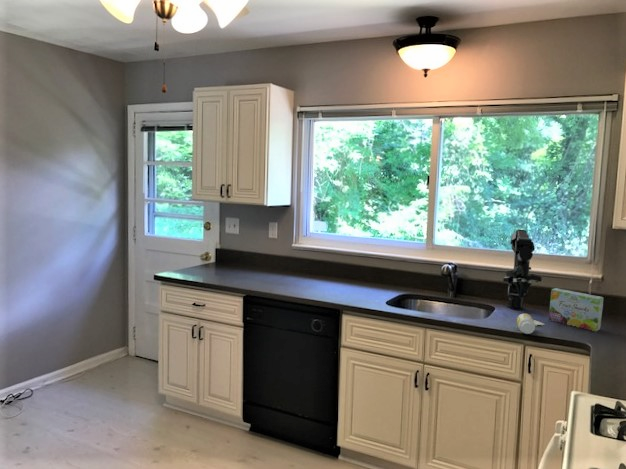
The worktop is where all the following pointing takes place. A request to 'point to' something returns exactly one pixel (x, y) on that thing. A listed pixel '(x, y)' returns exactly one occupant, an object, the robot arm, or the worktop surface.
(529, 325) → the supplement bottle
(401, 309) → the worktop surface
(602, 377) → the worktop surface
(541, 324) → the cream tile
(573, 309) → the snack box
